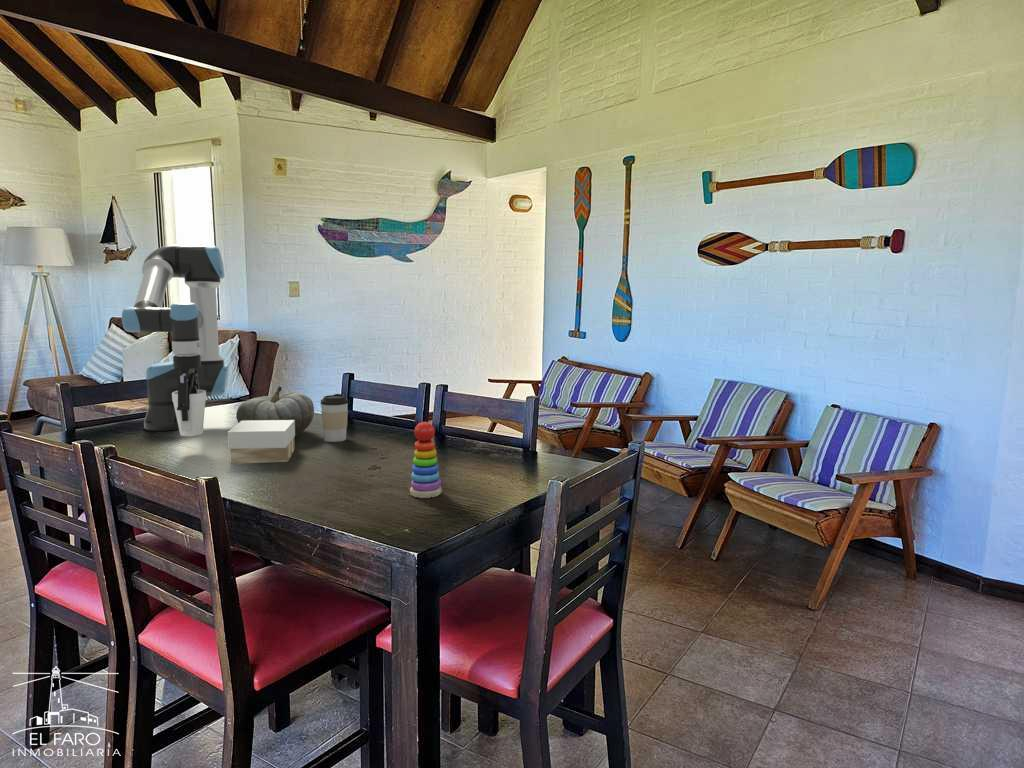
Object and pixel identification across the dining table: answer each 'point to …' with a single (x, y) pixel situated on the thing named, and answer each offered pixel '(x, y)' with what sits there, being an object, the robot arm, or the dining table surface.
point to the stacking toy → (425, 464)
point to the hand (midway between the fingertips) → (191, 427)
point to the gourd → (279, 409)
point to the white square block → (261, 434)
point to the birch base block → (262, 454)
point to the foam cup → (192, 412)
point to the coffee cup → (334, 417)
